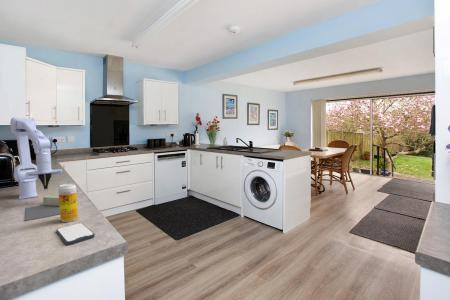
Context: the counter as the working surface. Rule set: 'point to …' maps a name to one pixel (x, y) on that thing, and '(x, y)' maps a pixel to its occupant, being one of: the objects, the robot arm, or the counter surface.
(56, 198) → the skincare box
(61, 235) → the phone case
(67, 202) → the beer can
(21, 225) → the counter surface
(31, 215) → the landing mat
